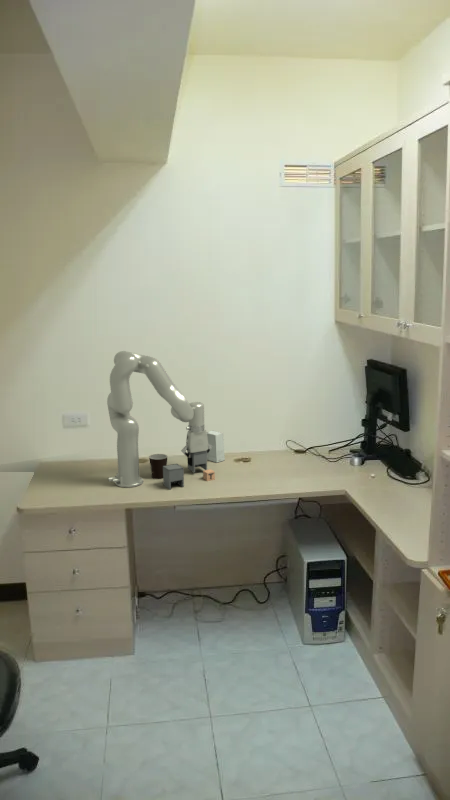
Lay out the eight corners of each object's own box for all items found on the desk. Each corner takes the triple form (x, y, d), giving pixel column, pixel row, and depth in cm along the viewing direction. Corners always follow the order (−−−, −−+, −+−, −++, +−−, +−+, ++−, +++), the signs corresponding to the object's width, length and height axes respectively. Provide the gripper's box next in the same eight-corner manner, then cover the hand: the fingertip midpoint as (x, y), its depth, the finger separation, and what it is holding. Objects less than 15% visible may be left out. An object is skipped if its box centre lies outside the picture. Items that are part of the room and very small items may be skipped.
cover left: (169, 489, 258) (169, 470, 256) (163, 484, 264) (162, 466, 262) (183, 486, 261) (183, 467, 259) (177, 482, 267) (177, 463, 265)
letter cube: (207, 481, 268) (207, 473, 268) (203, 478, 272) (203, 470, 271) (214, 479, 270) (214, 471, 269) (210, 477, 274) (210, 469, 273)
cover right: (194, 472, 276) (193, 454, 275) (187, 468, 282) (187, 450, 281) (207, 470, 280) (206, 452, 278) (200, 466, 286) (200, 448, 284)
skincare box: (224, 460, 298) (224, 432, 295) (216, 463, 294) (215, 434, 291) (213, 457, 304) (213, 429, 301) (205, 459, 300) (204, 431, 297)
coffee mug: (164, 480, 270) (164, 459, 268) (147, 479, 272) (146, 458, 270) (172, 472, 281) (171, 452, 279) (155, 471, 283) (154, 451, 281)
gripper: (183, 432, 270) (184, 468, 273) (216, 427, 278) (216, 463, 281) (176, 428, 276) (177, 464, 280) (209, 424, 284) (209, 459, 288)
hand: (197, 463), depth 281 cm, fingers closed on cover right, 6 cm apart
